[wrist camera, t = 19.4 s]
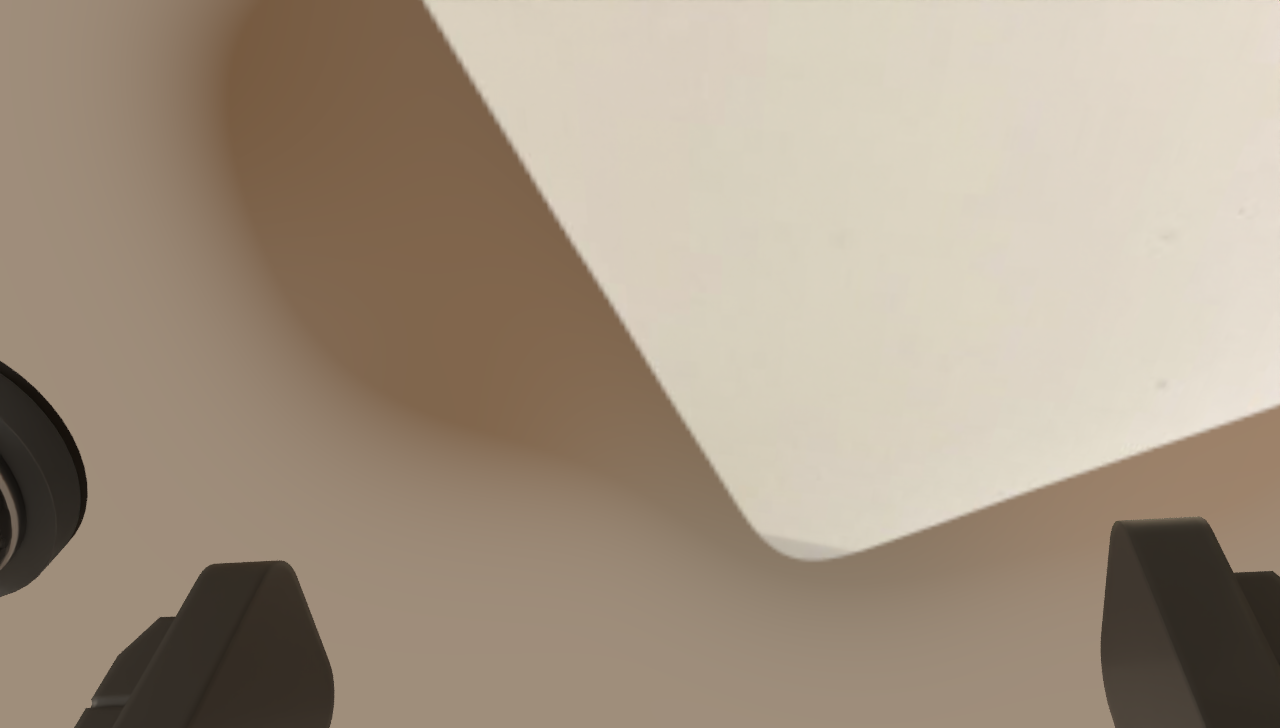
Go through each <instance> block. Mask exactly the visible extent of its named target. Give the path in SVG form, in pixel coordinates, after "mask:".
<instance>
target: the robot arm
mask: <svg viewBox="0 0 1280 728" xmlns="http://www.w3.org/2000/svg"><path fill="white" fill-rule="evenodd" d="M25 527H26V512H25V506H24V501H23V498H22V494H21V491H20V489H19V486H18V484H17V482H16V480H15V478H14V476H13V474H12V472H11V470H10V469H9V467H8V465H7V464H6V463H5V461H4V460H3V458H2V457H1V456H0V570H1V569H2V568H3V567H4V566H5V565H6V564H7V563H8V562H9V561H10V560H11V559H12V557H13V556H14V555H15V554H16V552H17V551H18V549H19V547H20V545H21V543H22V540H23V538H24V533H25ZM1101 663H1102V673H1103V681H1104V687H1105V692H1106V697H1107V701H1108V705H1109V709H1110V712H1111V715H1112V718H1113V721H1114V724H1115V728H1280V577H1279V576H1278V575H1277V574H1275V573H1274V572H1273V571H1264V572H1241V573H1233V571H1232V569H1231V567H1230V565H1229V563H1228V561H1227V559H1226V557H1225V555H1224V553H1223V551H1222V549H1221V547H1220V545H1219V543H1218V541H1217V539H1216V537H1215V535H1214V533H1213V531H1212V529H1211V527H1210V525H1209V524H1208V523H1207V521H1206V520H1205V519H1203V518H1202V517H1184V518H1164V519H1145V520H1125V521H1116V522H1115V523H1114V525H1113V527H1112V531H1111V536H1110V545H1109V556H1108V567H1107V578H1106V589H1105V600H1104V611H1103V621H1102V632H1101ZM91 700H92V706H91V708H86V709H85V711H84V712H83V714H82V716H81V717H80V719H79V721H78V722H77V724H76V726H75V727H74V728H329V727H330V724H331V719H332V714H333V707H334V681H333V674H332V669H331V666H330V663H329V660H328V657H327V655H326V652H325V650H324V647H323V644H322V641H321V639H320V636H319V634H318V631H317V629H316V626H315V623H314V620H313V618H312V615H311V613H310V610H309V607H308V605H307V602H306V599H305V597H304V594H303V591H302V589H301V586H300V584H299V581H298V578H297V576H296V574H295V572H294V570H293V568H292V567H291V566H290V565H289V564H288V563H286V562H285V561H263V562H243V563H223V564H213V565H210V566H208V567H206V568H205V569H204V571H202V573H201V574H200V576H199V577H198V579H197V581H196V582H195V584H194V586H193V588H192V589H191V591H190V593H189V594H188V596H187V598H186V600H185V601H184V603H183V605H182V607H181V608H180V610H179V612H178V614H177V615H176V617H160V618H159V619H158V620H156V622H154V623H153V624H152V625H151V626H150V627H149V628H148V629H147V630H146V631H144V632H143V633H142V634H141V635H140V636H139V637H138V638H137V639H136V640H135V641H134V642H133V643H131V644H130V645H129V646H128V647H127V648H126V649H125V650H124V651H123V652H122V653H121V654H119V655H118V657H117V658H116V660H115V661H114V663H113V665H112V666H111V668H110V670H109V671H108V673H107V675H106V676H105V678H104V680H103V681H102V683H101V684H100V686H99V688H98V689H97V691H96V693H95V695H94V696H93V698H92V699H91Z"/></svg>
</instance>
